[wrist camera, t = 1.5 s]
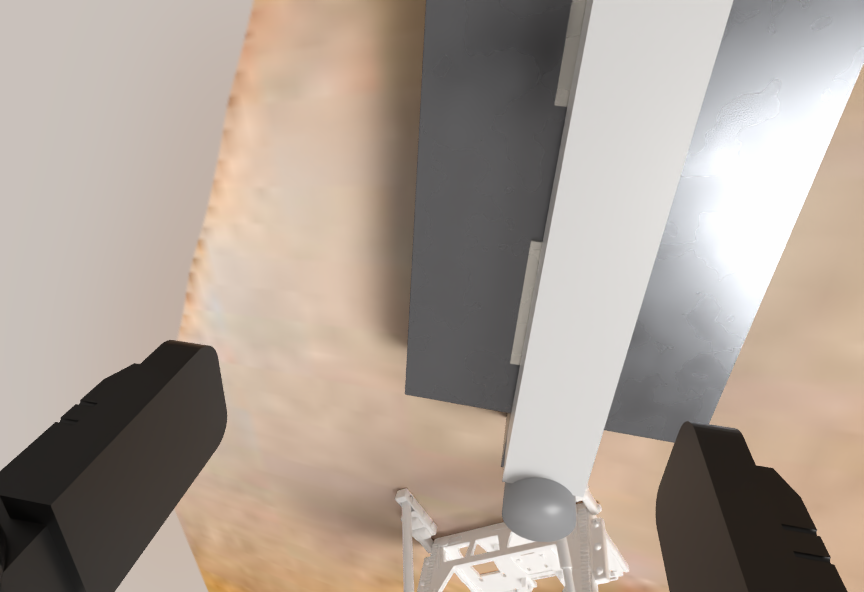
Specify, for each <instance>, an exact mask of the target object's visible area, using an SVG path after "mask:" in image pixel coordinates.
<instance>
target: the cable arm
mask: <svg viewBox="0 0 864 592" xmlns="http://www.w3.org/2000/svg"><path fill="white" fill-rule="evenodd" d="M732 4H733V0H587V3H586V9H585V14H584V19H583V25H582V30H581V36H580V41H579V47H578V52H577V58H576V63H575V68H574V74H573V79H572V85H571V90H570V96H569V101H568V106H567V112H566V117H565V123H564V128H563V134H562V139H561V145H560V150H559V155H558V161H557V166H556V172H555V177H554V183H553V188H552V194H551V199H550V204H549V210H548V215H547V221H546V226H545V232H544V237H543V243H542V248H541V253H540V259H539V264H538V270H537V275H536V281H535V286H534V291H533V297H532V302H531V308H530V313H529V319H528V324H527V330H526V335H525V340H524V346H523V351H522V357H521V362H520V368H519V373H518V379H517V384H516V389H515V395H514V400H513V406H512V411H511V417H510V422H509V428H508V433H507V443H506V452H505V462H504V471H503V480H502V482H505V488H504V498H503V508H502V517H503V520H504V523H505V524H506V526H507V527H508V528H509V529H510V530H511V531H512V532H514V533H515V534H517V535H518V536H520V537H522V538H525V539H528V540H532V541H537V542H552V541H557V540H560V539H562V538H564V537H566V536H568V535H569V534H570V533H571V532H572V531H573V530H574V528H575V526H576V496H579V497H584V494H585V490H586V487H587V484H588V480H589V477H590V474H591V470H592V467H593V464H594V460H595V457H596V454H597V451H598V447H599V444H600V441H601V437H602V434H603V431H604V427H605V424H606V421H607V417H608V414H609V411H610V407H611V404H612V401H613V398H614V394H615V391H616V388H617V384H618V381H619V378H620V374H621V371H622V368H623V364H624V361H625V358H626V355H627V351H628V348H629V345H630V341H631V338H632V335H633V331H634V328H635V325H636V321H637V318H638V315H639V312H640V308H641V305H642V302H643V298H644V295H645V292H646V288H647V285H648V282H649V278H650V275H651V272H652V269H653V265H654V262H655V259H656V255H657V252H658V249H659V245H660V242H661V239H662V235H663V232H664V229H665V225H666V222H667V219H668V216H669V212H670V209H671V206H672V202H673V199H674V196H675V192H676V189H677V186H678V182H679V179H680V176H681V173H682V169H683V166H684V163H685V159H686V156H687V153H688V149H689V146H690V143H691V139H692V136H693V133H694V130H695V126H696V123H697V120H698V116H699V113H700V110H701V106H702V103H703V100H704V96H705V93H706V90H707V86H708V83H709V80H710V77H711V73H712V70H713V67H714V63H715V60H716V57H717V53H718V50H719V47H720V43H721V40H722V37H723V34H724V30H725V27H726V24H727V20H728V17H729V14H730V10H731V7H732Z"/></svg>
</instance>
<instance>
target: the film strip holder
mask: <svg viewBox="0 0 864 592" xmlns="http://www.w3.org/2000/svg"><path fill="white" fill-rule="evenodd" d="M410 495H411V497H410ZM395 500H396V501H397V502H398V504H399V505H400V506H401V507H402V517H401V521H402V536H403V577H404V592H414V576H413V547H412V536H413V537H414V538H415V540H416V541H419V542H420V544H421V545H422V546H423V547H424V548H425V550H426V551H427V552H428V553H431V554H430V555H431V556H430V557H426V558H424V563H423V567H422V572H421V576H420V581H419V585H418V589H417V592H442V591H443V589H444V588H445V586H446V584H447V583H448V581H449V580H450V578H451V576H452V575H453V573H454V572H455V574H456V575H457V576H458V577H459V578H460V580H461V581H462V582H463V583H465V584H466V586H467V587H468V588H469V589H470V590H471V592H531V591H532V590H533V588H534V587H537V583H536V581H535V580H536V579H542V578H547V577H552V576H557V577H558V579H559V580H560V581H561V583H562V584H563V585H564V589H563V591H562V592H598V584H602V583H608V582H609V581H613V580H618V576H623V572H624V571H625V572H629V566H628V564H627V563H626V561H625V559H624V558H623V556H622V555H621V553H620V552H619V550H618V549H617V546H616V545H615V544H614V543H613V541H612V539H611V538H610V536H609V535H608V533H607V532H606V530H605V522H604V520H603V519H602V518H601V517H600V518H597V516H596V514H599V512H601V511H602V507H601V505H600V504H598V503H597V502H596V500H595V498H594V497H593V495H592V494H591V492H590V491H589V486H588V484H587V487H586V490H585V494H584V497H579V496H576V502H578V501H583V503H580V504H576V526H575V528H574V530H573V531H572V532H571V533H570V534H569V535H568V536H566V537H564V538H562V539H560V540H557V541H552V542H537V541H532V540H528V539H525V538H522V537H520V536H518V535H517V534H515V533H514V532H512V531H511V530H510V529H509V528H508V527H507V526H506V524H505V523H504V522H502V523H498V524H494V525H490V526H486V527H482V528H477V529H473V530H469V531H465V532H461V533H457V534H453V535H449V536H445V537H441V538H437V539H434V541H433V540H432V539H431V536H433V535H435V534H436V530H437V525H436V524H435V523H434V521H433V520H432V519H431V518H430V516H429V515H428V514H427V513H426V511H425V510H424V509H423V508H422V506H421V505H420V504H419V503H418V501H417V500H416V499H415V498H414V496H413V495H412V494H411V493H410V491H409V490H408V489H407V488H405V489H402V490H398V491H397V494H396V497H395ZM477 544H479V545H480V546H481V547H482V548H483V549H484V550H486V551H487V553H482V554H478V555H474V551H475V548H476V545H477ZM467 546H469V547H468V550H467V553H466V556H465V557H463V556H462V554H461V552H460V550H459V548H463V547H467ZM491 561H494V563H495V564H496V566H497V568H498V569H499V571H494V572H490V573H485V574H479V573H478V572H477V571H476V570H475V569H474V568H473V567H472V565H477V564H482V563H486V562H491ZM610 570H612V572H611V571H610ZM503 573H505V574H503ZM480 577H481V578H482V579H481V578H480ZM613 577H615V578H613ZM514 588H516V590H515V589H514Z"/></svg>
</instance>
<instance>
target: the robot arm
mask: <svg viewBox="0 0 864 592" xmlns="http://www.w3.org/2000/svg"><path fill="white" fill-rule="evenodd" d="M226 423H227V409H226V403H225V397H224V391H223V385H222V379H221V373H220V367H219V361H218V356H217V353H216V351H215V349H214V348H213V347H211V346H207V345H201V344H194V343H188V342H181V341H175V340H169V341H166V342H164V343H163V344H161V345H160V346H159V347H158V348H157V349H156V350H155V351H154V352H153V353H152V354H150V355H149V356H148V357H147V358H146V359H145V360H144V361H143V362H142V363H141V364H135V363H134V364H132V365H131V366H129V367H127V368H125V369H123V370H121V371H119V372H117V373H115V374H113V375H111V376H109V377H107V378H105V379H104V380H103V381H101V382H100V383H99V384H98V385H97V386H96V387H95V388H94V389H92V390H91V391H90V392H89V393H88V394H87V395H86V396H84V397H83V398H82V399H81V400H80V404H79V405H77V404H76V405H74V407H72V408H71V409H70V410H69V411H68V412H66V414H64V415H63V416H62V417H61V420H60V422H59V423H58V422H55V423H54V424H53V425H52V426H51V427H50V428H48V429H47V430H46V431H45V432H44V433H43V434H42V435H40V436H39V437H38V438H37V439H36V440H35V441H34V442H33V443H31V444H30V445H29V446H28V447H27V448H26V449H25V450H24V451H22V452H21V453H20V454H19V455H18V456H17V457H16V458H15V459H13V460H12V461H11V462H10V463H9V464H8V465H7V466H6V467H4V468H3V469H2V470H1V471H0V592H115V590H116V589H117V588H118V586H119V585H120V583H121V582H122V581H123V579H124V578H125V576H126V575H127V573H128V572H129V571H130V569H131V568H132V567H133V565H134V564H135V562H136V561H137V560H138V558H139V557H140V555H141V554H142V553H143V551H144V550H145V548H146V547H147V546H148V544H149V543H150V541H151V540H152V539H153V537H154V536H155V534H156V533H157V532H158V530H159V529H160V527H161V526H162V525H163V523H164V521H165V520H166V519H167V518H168V516H169V515H170V513H171V512H172V511H173V509H174V508H175V506H176V505H177V504H178V502H179V501H180V499H181V498H182V497H183V495H184V494H185V492H186V491H187V490H188V488H189V487H190V485H191V484H192V483H193V481H194V480H195V478H196V477H197V476H198V474H199V473H200V471H201V470H202V469H203V467H204V466H205V464H206V463H207V462H208V460H209V459H210V457H211V456H212V455H213V453H214V452H215V451H216V449H217V448H218V446H219V444H220V442H221V440H222V438H223V435H224V432H225V429H226ZM656 525H657V531H658V536H659V541H660V546H661V551H662V556H663V561H664V566H665V571H666V576H667V581H668V586H669V590H670V592H847V590H846V588H845V586H844V584H843V582H842V580H841V578H840V576H839V574H838V572H837V569H836V567H835V565H833V564H831V563H830V558H831V557H830V555H829V553H828V551H827V549H826V547H825V545H824V543H823V541H822V539H821V537H820V536H817V534H816V531H817V529H816V527H815V525H814V523H813V521H812V519H811V517H810V515H809V513H808V511H807V509H806V507H805V505H804V503H803V501H802V499H801V497H800V496H799V495H798V494H797V493H796V492H795V491H794V490H793V489H792V488H791V487H790V486H789V485H788V484H787V483H786V481H785V480H784V479H783V478H782V477H781V476H780V475H779V474H778V473H777V472H776V471H775V470H774V469H773V468H768V467H762V466H756V465H755V462H754V460H753V458H752V456H751V453H750V451H749V449H748V446H747V444H746V442H745V439H744V437H743V435H742V433H741V432H740V431H739V430H738V429H735V428H729V427H722V426H716V425H709V424H703V423H697V422H690V421H686V422H684V423H683V424H682V426H681V428H680V430H679V432H678V435H677V438H676V441H675V444H674V446H673V449H672V452H671V455H670V457H669V460H668V463H667V466H666V469H665V471H664V474H663V477H662V480H661V483H660V485H659V489H658V493H657V499H656Z"/></svg>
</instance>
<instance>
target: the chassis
mask: <svg viewBox="0 0 864 592" xmlns="http://www.w3.org/2000/svg"><path fill="white" fill-rule="evenodd" d="M586 3H587V0H426V14H425V32H424V51H423V70H422V88H421V107H420V125H419V144H418V162H417V181H416V200H415V218H414V237H413V255H412V274H411V292H410V311H409V329H408V348H407V367H406V385H405V394H406V395H412V396H417V397H423V398H429V399H434V400H440V401H445V402H451V403H456V404H462V405H468V406H473V407H479V408H484V409H490V410H495V411H501V412H507V418H506V426H505V435H504V444H503V453H502V462H501V467H504V462H505V452H506V443H507V433H508V428H509V422H510V417H511V411H512V406H513V400H514V395H515V389H516V384H517V379H518V373H519V368H520V362H521V357H522V351H523V346H524V340H525V335H526V330H527V324H528V319H529V313H530V308H531V302H532V297H533V291H534V286H535V281H536V275H537V270H538V264H539V259H540V253H541V248H542V243H543V237H544V232H545V226H546V221H547V215H548V210H549V204H550V199H551V194H552V188H553V183H554V177H555V172H556V166H557V161H558V155H559V150H560V145H561V139H562V134H563V128H564V123H565V117H566V112H567V106H568V101H569V96H570V90H571V85H572V79H573V74H574V68H575V63H576V58H577V52H578V47H579V41H580V36H581V30H582V25H583V19H584V14H585V9H586ZM863 63H864V0H733V4H732V7H731V10H730V14H729V17H728V20H727V24H726V27H725V30H724V34H723V37H722V40H721V43H720V47H719V50H718V53H717V57H716V60H715V63H714V67H713V70H712V73H711V77H710V80H709V83H708V86H707V90H706V93H705V96H704V100H703V103H702V106H701V110H700V113H699V116H698V120H697V123H696V126H695V130H694V133H693V136H692V139H691V143H690V146H689V149H688V153H687V156H686V159H685V163H684V166H683V169H682V173H681V176H680V179H679V182H678V186H677V189H676V192H675V196H674V199H673V202H672V206H671V209H670V212H669V216H668V219H667V222H666V225H665V229H664V232H663V235H662V239H661V242H660V245H659V249H658V252H657V255H656V259H655V262H654V265H653V269H652V272H651V275H650V278H649V282H648V285H647V288H646V292H645V295H644V298H643V302H642V305H641V308H640V312H639V315H638V318H637V321H636V325H635V328H634V331H633V335H632V338H631V341H630V345H629V348H628V351H627V355H626V358H625V361H624V364H623V368H622V371H621V374H620V378H619V381H618V384H617V388H616V391H615V394H614V398H613V401H612V404H611V407H610V411H609V414H608V417H607V421H606V424H605V427H604V430H607V431H612V432H618V433H623V434H629V435H635V436H640V437H646V438H651V439H657V440H662V441H668V442H674V443H675V441H676V438H677V435H678V432H679V430H680V428H681V426H682V424H683V423H684V422H686V421H690V422H697V423H703V424H709V422H710V420H711V418H712V415H713V413H714V411H715V408H716V406H717V404H718V401H719V399H720V397H721V394H722V392H723V390H724V387H725V385H726V383H727V380H728V378H729V376H730V373H731V371H732V369H733V366H734V364H735V362H736V359H737V357H738V355H739V352H740V350H741V348H742V345H743V343H744V341H745V338H746V336H747V334H748V332H749V329H750V327H751V325H752V322H753V320H754V318H755V315H756V313H757V311H758V308H759V306H760V304H761V301H762V299H763V297H764V294H765V292H766V290H767V287H768V285H769V283H770V280H771V278H772V276H773V273H774V271H775V269H776V266H777V264H778V262H779V259H780V257H781V255H782V252H783V250H784V248H785V245H786V243H787V241H788V238H789V236H790V234H791V231H792V229H793V227H794V224H795V222H796V220H797V217H798V215H799V213H800V210H801V208H802V206H803V203H804V201H805V199H806V196H807V194H808V192H809V189H810V187H811V185H812V182H813V180H814V178H815V175H816V173H817V171H818V168H819V166H820V164H821V161H822V159H823V157H824V154H825V152H826V150H827V147H828V145H829V143H830V140H831V138H832V136H833V133H834V131H835V129H836V126H837V124H838V122H839V119H840V117H841V115H842V112H843V110H844V108H845V105H846V103H847V101H848V98H849V96H850V94H851V91H852V89H853V87H854V84H855V82H856V80H857V77H858V75H859V73H860V70H861V68H862V66H863Z"/></svg>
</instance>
